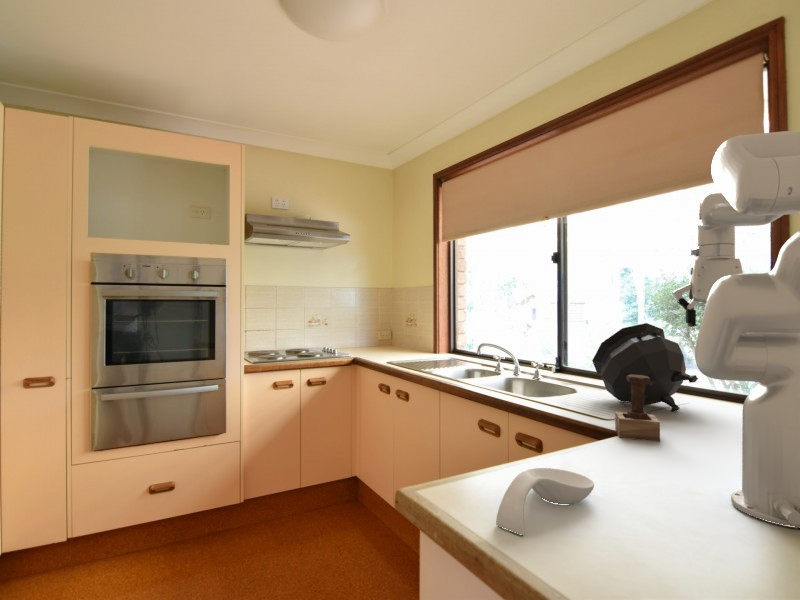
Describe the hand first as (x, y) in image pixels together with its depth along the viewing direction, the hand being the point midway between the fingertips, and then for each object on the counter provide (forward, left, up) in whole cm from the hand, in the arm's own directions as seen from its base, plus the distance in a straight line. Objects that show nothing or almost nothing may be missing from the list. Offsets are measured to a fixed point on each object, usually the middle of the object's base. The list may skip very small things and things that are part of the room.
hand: (715, 327), depth 105 cm
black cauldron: (+50, +6, -31) cm, 59 cm away
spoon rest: (-41, +37, -31) cm, 63 cm away
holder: (+13, +14, -30) cm, 36 cm away
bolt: (+13, +14, -29) cm, 35 cm away
